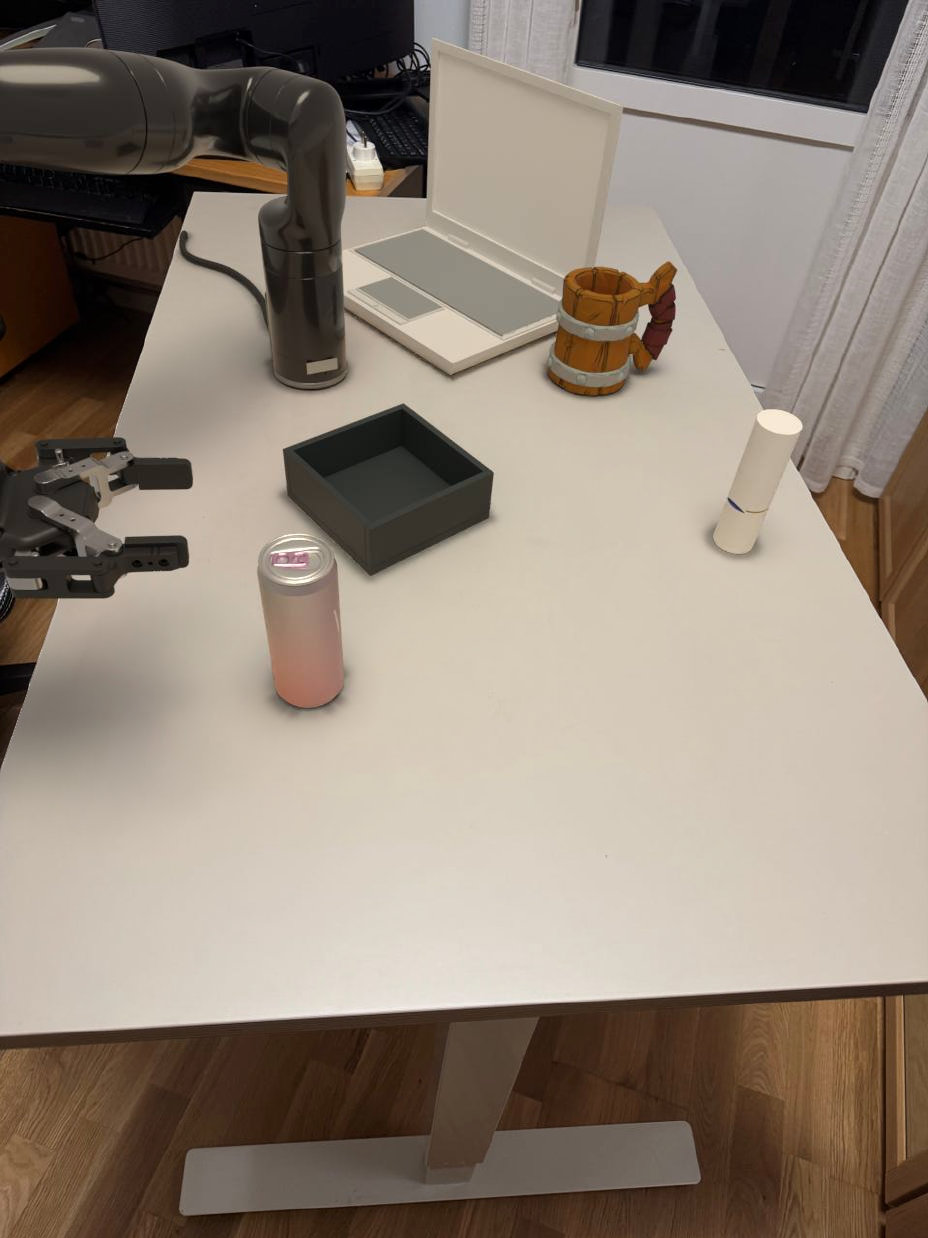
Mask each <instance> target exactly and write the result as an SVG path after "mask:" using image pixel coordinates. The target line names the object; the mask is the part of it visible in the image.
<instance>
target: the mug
mask: <svg viewBox="0 0 928 1238" xmlns="http://www.w3.org/2000/svg"><path fill="white" fill-rule="evenodd" d="M677 272H678V269H677V268H676V266H675V265H674V264H673V263H672V262H671V261H666V262H665V263H663V264H661V265H660V266H659V267H658V268H657V269H656V270H655V271H654V272H653V273H652V275H651V276H650V278H649V280H648V281H647V282H640V281H639V280H638V279H637V278H635V277H634V276H632V275H630V274H629V273H627V272H625V271H619V270H618V269H617V268H613V267H606V266H595V267H594V268H591V267H588V268H581V269H576V270H573V271H571V272H570V273H568V274H567V275H566V276H565V278H564V280H563V297H562V299H561V300H560V302H559V305H558V312H557V314H556V320H557V321H558V323H559V326H558V330H557V331H556V336H555V340H554V341H553V343H552V344H551V345H550V348H549V352H548V357H547V362H546V363H547V366H548V368H547V369H548V370H547V375H548V376H549V378H550V379H551V380H552V381H553V382H554V383H555V384H556V385H557V386H558V387H561V389H563V390H564V389H565V391H566V392H569V393H572V394H577V395H581V396H583V395H586V396H589V397H596V396H598V395H600V396H605V395H609V394H614V393H615V392H618V391H619V390H620V389H621V388H623V386H624V385H625V382H626V380H627V379H626V378H627V377H628V375H629V372H630V368H631V361H632V362H633V366H634V368H635V369H636V370H638V371H646V370H647V369H648V368H649V366H650V365H651V363H652V361H658V358H659V357H660V355H661V353H662V351H663V349H664V346H666V345H667V344H668V341H669V338H670V336H671V334H672V333H673V328H672V326H673V323H674V321H675V320H676V314H677V313H676V311H677V308H676V307H677V306H676V302H675V301H676V300H677V296H676V294H677V293H676V289H675V285H674V284H673V281H674V278H675V276H676V274H677ZM646 305H647V307H648V311H649V315H650V316H651V318H650V321H648V322H647V323H646V326H645V329H644V331H643V333H642V335H641V337H639V335H638V333H636V330H637V328H638V327H637V326H638V323H639V318H640V312H639V309H640V308H641V307H644V306H646ZM631 356H632V360H631Z"/></svg>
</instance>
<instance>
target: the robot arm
mask: <svg viewBox="0 0 928 1238" xmlns="http://www.w3.org/2000/svg"><path fill="white" fill-rule="evenodd" d="M347 133H348V132H347V121H346V113H345V109H344V105H343V102H342V100H341V96H340V95H339V93H338V92H337V89H335V88H334V86H332V85H331V84H329V83H328V82H325V81H323V80H320V79H317V78H314V77H311V76H307V75H304V74H300V73H296V72H293V71H289V70H284V69H280V68H277V67H273V66H272V67H271V66H251V67H241V68H240V67H239V68H237V67H236V68H224V69H223V68H222V69H219V68H218V69H201V68H194V67H190V66H187V65H185V64H182V63H179V62H177V61H173V60H169V59H167V58H162V57H158V56H157V57H156V56H153V55H148V54H144V53H143V54H142V53H136V52H131V51H130V52H129V51H121V50H113V49H106V48H105V49H104V48H96V47H71V46H70V47H36V48H35V47H33V48H20V49H8V50H0V164H5V165H13V166H21V167H27V168H35V169H42V170H48V171H59V172H66V173H67V172H68V173H76V174H89V175H102V176H104V175H105V176H136V175H137V176H139V175H146V176H147V175H157V174H163V173H170V172H173V171H175V170H178V169H180V168H183V167H184V166H185V165H186V164H188V163H190V162H191V161H192V160H193V159H194V158H196V157H199V156H220V157H228V158H235V159H239V160H245V161H248V162H251V163H255V164H256V165H259V166H263V167H265V168H268V169H273V170H275V171H279V172H282V173H284V174H286V181H287V182H286V185H287V186H286V195H284V196H279V197H277V198H273V199H271V200H269V201H267V202H266V203H264V204H263V205H262V206H261V207H260V209H259V211H258V215H257V223H258V224H257V225H258V231H259V233H258V234H259V241H260V250H261V260H262V267H263V277H264V286H265V292H264V295H263V294H262V292H261V291H260V290H259V288H258V287H257V286H256V285H255V284H254V283H253V282H252V281H251V280H250V279H249V278H247V277H246V276H245V275H244V274H242V273H241V272H239V271H238V270H236V269H234V268H232V267H230V266H228V265H225V264H223V263H220V262H217V261H213V260H209V259H206V258H202V257H199V256H197V255H195V254H192V253H190V252H189V251H188V250H187V248H186V239H187V238H188V237H189V236H188V235H189V233H188V231H186V230H182V231H181V232H180V234H179V239H180V240H178V246H179V251H180V253H181V254H182V255H183V256H184V257H185V259H187V260H189V261H191V262H193V263H196V264H199V265H202V266H205V267H209V268H213V269H216V270H219V271H222V272H224V273H226V274H229V275H230V276H232V277H233V278H236V279H237V280H238V281H240V282H241V283H242V284H244V285H245V286H246V288H248V289H249V290H250V291H251V292H252V293H253V295H254V296H255V297H256V299H257V301H258V302H259V304H260V308H261V310H262V311H261V312H262V314H263V315H262V316H263V319H264V322H265V324H266V325H267V327H268V328H267V329H268V338H269V345H270V355H271V362H272V368H273V369H272V370H273V374H274V376H275V378H276V379H277V380H278V381H279V382H280V383H282V384H284V385H287V386H288V387H291V388H296V389H301V390H317V389H318V390H319V389H324V388H328V387H332V386H335V385H337V384H338V383H340V382H341V381H342V380H344V378H345V377H346V376H347V373H348V362H347V346H346V345H347V344H346V343H347V342H346V339H347V338H346V320H345V319H346V317H345V315H346V314H345V308H344V289H343V264H342V250H343V249H342V248H343V245H342V243H343V242H342V222H343V218H344V213H345V210H346V209H345V208H346V202H347V201H346V200H347V152H348V151H347V150H348V149H347V148H348V147H347V146H348V145H347V144H348V143H347V141H348V139H347V138H348V137H347ZM34 448H35V452H36V458H37V465H36V466H34V467H30V468H26V469H18V470H16V469H12V468H10V467H9V466H8V465H6V464H5V462H4V461H3V460H1V459H0V573H4V574H5V575H4V576H5V578H6V580H7V583H8V586H9V589H10V592H11V595H12V597H13V598H15V599H20V600H21V599H23V600H25V599H26V600H27V599H28V600H31V599H33V600H34V599H37V600H39V599H41V600H42V599H44V600H45V599H46V600H48V599H49V600H50V599H51V600H53V599H55V600H57V599H59V600H60V599H62V600H64V599H65V600H66V599H69V600H72V599H76V600H77V599H88V600H89V599H91V600H93V599H109V598H112V597H113V596H114V594H115V592H116V590H115V586H116V584H117V582H118V581H119V579H124V578H125V577H126V576H127V575H128V574H129V573H130V574H131V573H151V572H152V573H153V572H173V571H176V570H179V569H184V568H187V567H188V566H189V564H190V551H189V544H188V543H189V542H188V539H187V538H186V537H185V536H183V535H174V534H173V535H140V536H139V535H138V536H137V535H136V536H125V537H124V543H123V541H122V540H121V539H120V538H118V537H116V536H114V535H112V534H110V533H108V532H105V531H103V530H101V529H100V528H99V527H98V526H97V525H96V524H95V523H96V521H97V520H98V518H99V514H100V510H101V509H103V508H106V507H108V506H110V505H111V504H112V502H113V500H114V498H115V497H117V496H120V495H122V494H125V493H127V492H129V491H132V490H134V489H136V488H137V487H138V491H172V490H174V491H176V490H180V491H181V490H184V491H185V490H190V489H191V488H193V487H194V486H193V485H194V474H193V466H192V462H191V461H190V460H189V459H188V458H179V457H137V456H134V453H133V452H130V450H129V448H128V445H127V440H126V439H125V438H124V437H121V436H120V437H119V436H113V437H84V438H53V439H51V438H49V439H39V440H38V441H36V442H35V443H34ZM97 453H98V454H104V453H109V456H107V457H104V458H102V459H97V458H95V457H93V454H97ZM109 476H117V477H116V478H113V479H111V480H109V479H108V478H109ZM86 478H88V479H89V482H87V481H85V480H83V479H86ZM73 576H89V577H90V579H76V578H73Z"/></svg>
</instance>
